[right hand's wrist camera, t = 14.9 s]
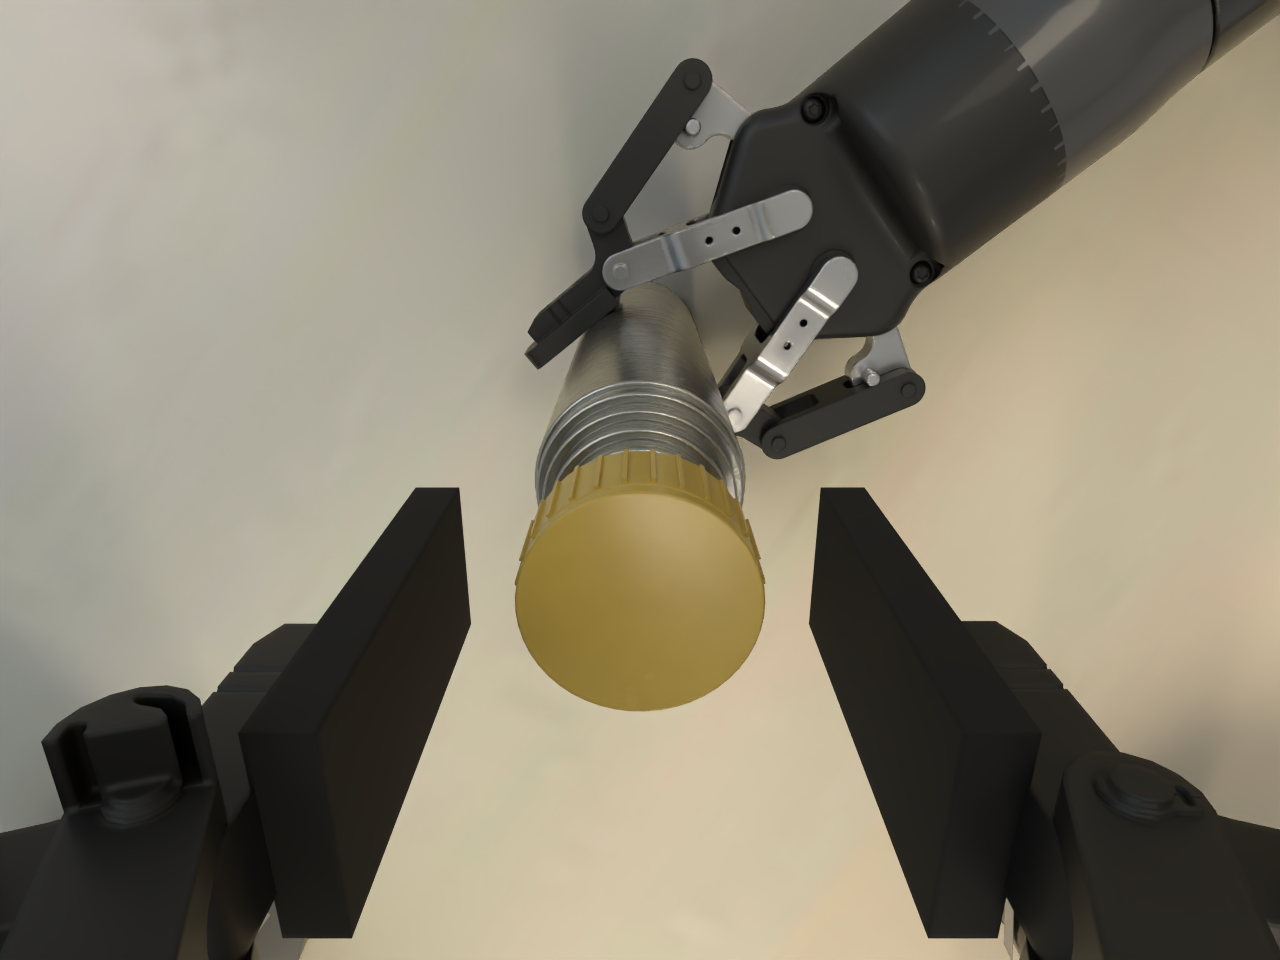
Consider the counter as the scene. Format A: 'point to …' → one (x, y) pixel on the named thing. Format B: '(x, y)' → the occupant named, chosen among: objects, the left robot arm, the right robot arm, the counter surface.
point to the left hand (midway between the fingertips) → (583, 413)
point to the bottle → (641, 395)
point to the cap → (640, 582)
